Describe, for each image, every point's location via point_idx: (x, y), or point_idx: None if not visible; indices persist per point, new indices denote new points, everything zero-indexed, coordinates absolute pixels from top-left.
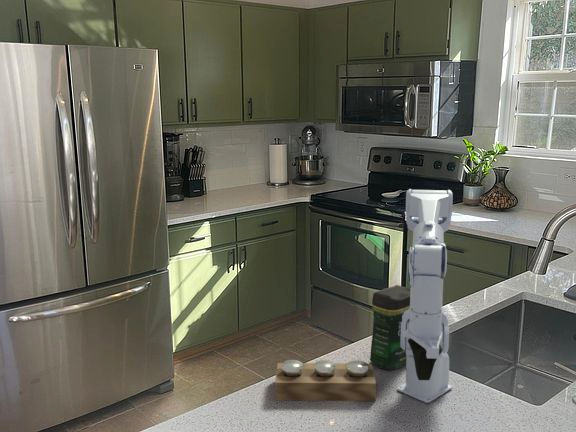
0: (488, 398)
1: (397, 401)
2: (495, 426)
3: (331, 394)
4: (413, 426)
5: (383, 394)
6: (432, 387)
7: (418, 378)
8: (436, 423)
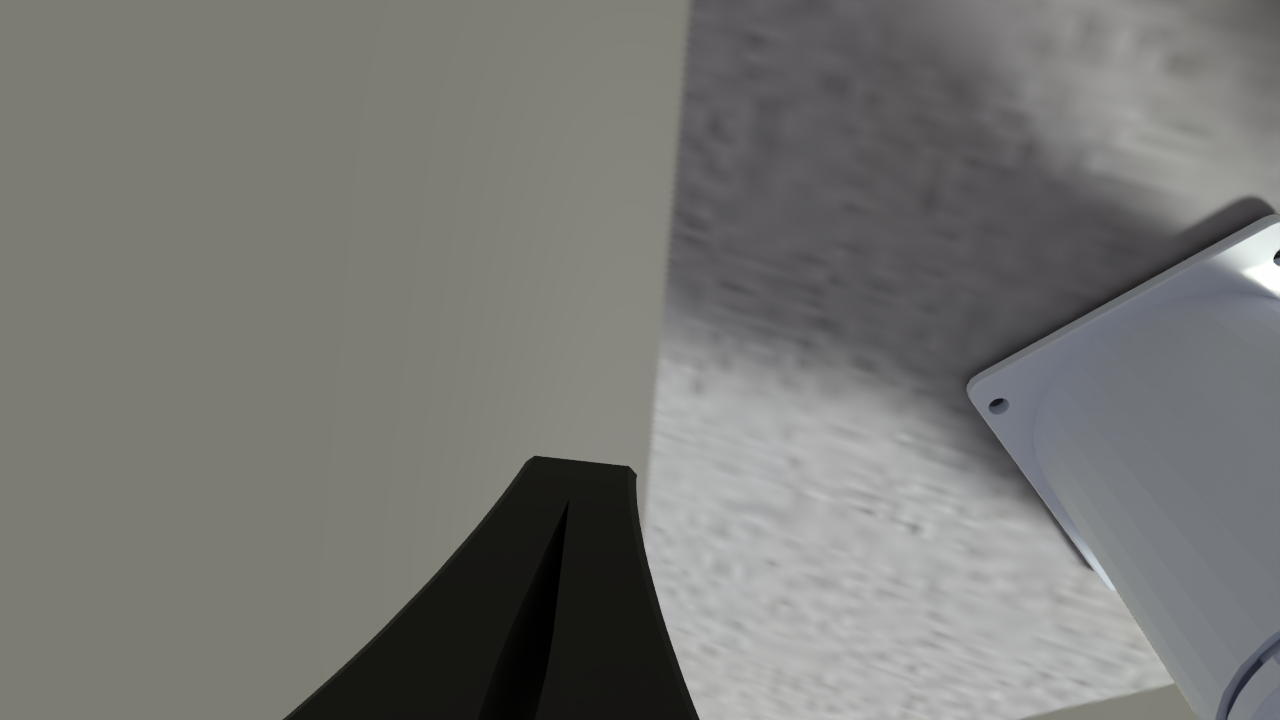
0: (922, 689)
1: (1086, 166)
2: None
3: None
4: (686, 195)
5: (1269, 60)
6: (1064, 488)
7: (525, 468)
8: (707, 359)
